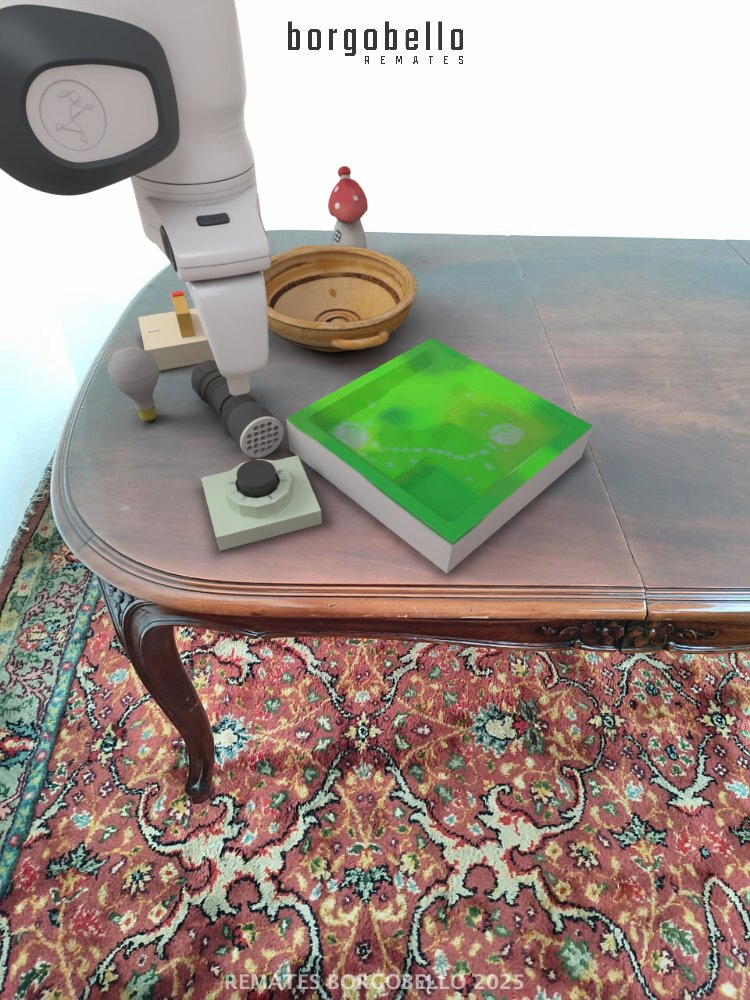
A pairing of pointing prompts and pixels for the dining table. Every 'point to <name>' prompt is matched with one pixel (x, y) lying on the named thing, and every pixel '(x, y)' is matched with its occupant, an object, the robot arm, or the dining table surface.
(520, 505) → the tray
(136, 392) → the light bulb
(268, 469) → the bell button
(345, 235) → the decorative ornament
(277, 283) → the ceramic bowl
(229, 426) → the flashlight
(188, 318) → the lock knob
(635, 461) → the dining table surface
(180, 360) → the plate
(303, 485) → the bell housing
